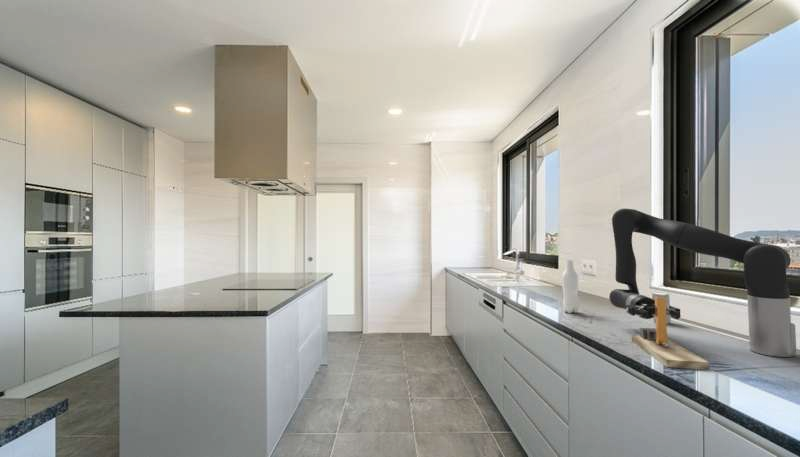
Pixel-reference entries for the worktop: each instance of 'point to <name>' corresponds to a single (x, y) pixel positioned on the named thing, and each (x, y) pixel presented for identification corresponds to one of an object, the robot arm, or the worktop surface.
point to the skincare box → (668, 319)
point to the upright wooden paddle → (660, 322)
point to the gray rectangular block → (644, 333)
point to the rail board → (671, 354)
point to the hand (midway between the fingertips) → (662, 315)
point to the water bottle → (570, 288)
